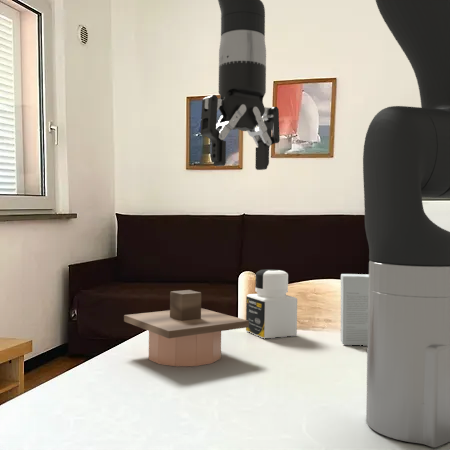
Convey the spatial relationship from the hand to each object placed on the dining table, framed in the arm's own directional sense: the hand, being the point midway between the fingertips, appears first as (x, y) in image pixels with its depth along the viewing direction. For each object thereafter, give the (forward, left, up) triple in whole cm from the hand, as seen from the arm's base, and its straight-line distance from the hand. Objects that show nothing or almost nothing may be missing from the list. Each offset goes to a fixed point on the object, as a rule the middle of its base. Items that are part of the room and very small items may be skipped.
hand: (241, 167), depth 85 cm
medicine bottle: (+8, -14, -30) cm, 34 cm away
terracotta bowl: (+3, +8, -30) cm, 31 cm away
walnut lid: (+3, +8, -25) cm, 26 cm away
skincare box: (-6, -22, -30) cm, 37 cm away
